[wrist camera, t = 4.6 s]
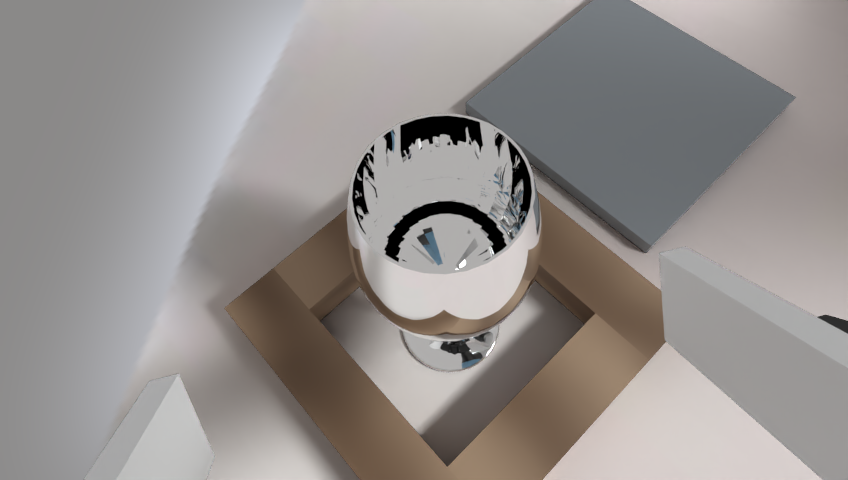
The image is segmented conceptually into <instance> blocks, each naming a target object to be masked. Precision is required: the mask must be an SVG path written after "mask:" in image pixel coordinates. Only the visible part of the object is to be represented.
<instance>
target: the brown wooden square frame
mask: <svg viewBox="0 0 848 480" xmlns="http://www.w3.org/2000/svg"><path fill="white" fill-rule="evenodd" d="M537 193H538V197H539V202H540V209H541V218H542V227H543V240H542V249H541V255H540V261H539V267H538V270H537V273H536V277H535V280H536V281H537V282H538V283H539V284H540V285H541V286H542V287H544V288H545V289H546V290H547V291H548V292H549V293H550V294H552V295H553V296H554V297H555V298H556V299H557V300H558V301H559V302H561V303H562V304H563V305H564V306H565V307H566V308H567V309H568V310H570V311H571V312H572V313H573V314H574V315H575V316H576V317H578V318H579V319H580V320H581V321H582V322H583V323H584V324H585V325H584V326H583V327H582V328H581V329H580V330H579V331H578V332H577V333H576V334H575V335H574V336H573V337H572V338H571V339H570V340H569V341H568V342H567V343H566V344H565V345H564V346H563V347H562V348H561V349H560V351H559V352H558V353H557V354H556V355H555V356H554V357H553V358H552V359H551V360H550V361H549V362H548V363H547V364H546V365H545V366H544V367H543V368H542V369H541V370H540V371H539V372H538V373H537V374H536V375H535V376H534V378H533V379H532V380H531V381H530V382H529V383H528V384H527V385H526V386H525V387H524V388H523V389H522V390H521V391H520V392H519V393H518V394H517V395H516V396H515V397H514V398H513V399H512V400H511V401H510V402H509V404H508V405H507V406H506V407H505V408H504V409H503V410H502V411H501V412H500V413H499V414H498V415H497V416H496V417H495V418H494V419H493V420H492V421H491V422H490V423H489V424H488V425H487V426H486V427H485V428H484V429H483V431H482V432H481V433H480V434H479V435H478V436H477V437H476V438H475V439H474V440H473V441H472V442H471V443H470V444H469V445H468V446H467V447H466V448H465V449H464V450H463V451H462V452H461V453H460V454H459V455H458V456H457V458H456V459H455V460H454V461H453V462H452V463H451V464H450V465H449V466H448V467H447V466H446V465H445V464H444V463H443V461H442V460H441V459H440V458H439V457H438V456H437V455H436V453H435V452H434V451H433V450H432V449H431V448H430V447H429V445H428V444H427V443H426V442H425V441H424V440H423V439H422V437H421V436H420V435H419V434H418V433H417V432H416V431H415V429H414V428H413V427H412V426H411V425H410V424H409V423H408V421H407V420H406V419H405V418H404V417H403V416H402V415H401V413H400V412H399V411H398V410H397V409H396V408H395V407H394V405H393V404H392V403H391V402H390V401H389V400H388V399H387V397H386V396H385V395H384V394H383V393H382V392H381V391H380V389H379V388H378V387H377V386H376V385H375V384H374V383H373V381H372V380H371V379H370V378H369V377H368V376H367V375H366V373H365V372H364V371H363V370H362V369H361V368H360V367H359V365H358V364H357V363H356V362H355V361H354V360H353V359H352V357H351V356H350V355H349V354H348V353H347V352H346V351H345V349H344V348H343V347H342V346H341V345H340V344H339V343H338V341H337V340H336V339H335V338H334V337H333V336H332V335H331V333H330V332H329V331H328V330H327V329H326V328H325V327H324V325H323V324H322V323H321V322H320V320H322V319H323V318H324V317H325V316H326V315H327V314H328V313H330V312H331V311H332V310H333V309H334V308H335V307H336V306H338V305H339V304H340V303H341V302H342V301H343V300H345V299H346V298H347V297H348V296H349V295H350V294H351V293H353V292H354V291H355V290H356V289H357V288H358V287H360V285H359V283H358V281H357V279H356V276H355V273H354V270H353V267H352V264H351V260H350V255H349V248H348V240H347V209H346V210H344V211H343V212H342V213H341V214H340V215H338V216H337V217H336V218H335V219H333V220H332V221H331V222H330V223H328V224H327V225H326V226H325V227H324V228H322V229H321V230H320V231H319V232H317V233H316V234H315V235H314V236H312V237H311V238H310V239H309V240H308V241H306V242H305V243H304V244H303V245H301V246H300V247H299V248H298V249H296V250H295V251H294V252H293V253H292V254H290V255H289V256H288V257H287V258H285V259H284V260H283V261H282V262H280V263H279V264H278V265H277V266H276V267H274V268H273V269H272V270H271V271H269V272H268V273H267V274H266V275H264V276H263V277H262V278H261V279H260V280H258V281H257V282H256V283H255V284H253V285H252V286H251V287H250V288H248V289H247V290H246V291H245V292H244V293H242V294H241V295H240V296H239V297H237V298H236V299H235V300H234V301H232V302H231V303H230V304H229V305H228V306H226V307H225V308H224V309H225V310H226V311H227V312H228V314H229V315H230V316H231V317H232V319H233V320H234V321H235V322H236V324H237V325H238V326H239V328H240V329H241V330H242V331H243V333H244V334H245V335H246V336H247V338H248V339H249V340H250V341H251V343H252V344H253V345H254V346H255V348H256V349H257V350H258V352H259V353H260V354H261V355H262V357H263V358H264V359H265V360H266V362H267V363H268V364H269V365H270V367H271V368H272V369H273V370H274V372H275V373H276V374H277V375H278V377H279V378H280V379H281V381H282V382H283V383H284V384H285V386H286V387H287V388H288V389H289V391H290V392H291V393H292V394H293V396H294V397H295V398H296V399H297V401H298V402H299V403H300V405H301V406H302V407H303V408H304V410H305V411H306V412H307V413H308V415H309V416H310V417H311V418H312V420H313V421H314V422H315V423H316V425H317V426H318V427H319V428H320V430H321V431H322V432H323V434H324V435H325V436H326V437H327V439H328V440H329V441H330V442H331V444H332V445H333V446H334V447H335V449H336V450H337V451H338V452H339V454H340V455H341V456H342V458H343V459H344V460H345V461H346V463H347V464H348V465H349V466H350V468H351V469H352V470H353V471H354V473H355V474H356V475H357V476H358V478H359V479H360V480H543V478H544V477H545V476H546V475H547V474H548V473H549V472H550V471H551V469H552V468H553V467H554V466H555V465H556V464H557V463H558V462H559V461H560V459H561V458H562V457H563V456H564V455H565V454H566V453H567V452H568V450H569V449H570V448H571V447H572V446H573V445H574V444H575V443H576V442H577V440H578V439H579V438H580V437H581V436H582V435H583V434H584V433H585V431H586V430H587V429H588V428H589V427H590V426H591V425H592V424H593V423H594V421H595V420H596V419H597V418H598V417H599V416H600V415H601V414H602V412H603V411H604V410H605V409H606V408H607V407H608V406H609V405H610V404H611V402H612V401H613V400H614V399H615V398H616V397H617V396H618V395H619V393H620V392H621V391H622V390H623V389H624V388H625V387H626V386H627V385H628V383H629V382H630V381H631V380H632V379H633V378H634V377H635V376H636V374H637V373H638V372H639V371H640V370H641V369H642V368H643V367H644V366H645V364H646V363H647V362H648V361H649V360H650V359H651V358H652V357H653V355H654V354H655V353H656V352H657V351H658V350H659V349H660V348H661V347H662V345H663V344H664V343H665V342H666V341H665V337H664V322H663V307H662V292H661V290H659V289H658V288H657V287H656V286H654V285H653V284H652V283H651V282H649V281H648V280H647V279H646V278H644V277H643V276H642V275H641V274H639V273H638V272H637V271H636V270H634V269H633V268H632V267H631V266H629V265H628V264H627V263H626V262H624V261H623V260H622V259H621V258H619V257H618V256H617V255H616V254H614V253H613V252H612V251H611V250H610V249H608V248H607V247H606V246H605V245H603V244H602V243H601V242H600V241H598V240H597V239H596V238H595V237H593V236H592V235H591V234H590V233H588V232H587V231H586V230H585V229H583V228H582V227H581V226H580V225H578V224H577V223H576V222H575V221H573V220H572V219H571V218H570V217H568V216H567V215H566V214H565V213H564V212H562V211H561V210H560V209H559V208H557V207H556V206H555V205H554V204H552V203H551V202H550V201H549V200H547V199H546V198H545V197H544V196H542V195H541V194H540V193H539V192H537Z"/></svg>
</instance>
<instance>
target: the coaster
mask: <svg viewBox="0 0 848 480" xmlns="http://www.w3.org/2000/svg"><path fill="white" fill-rule="evenodd" d="M795 98H796V97H795V96H793V95H791V94H789V93H788V92H786V91H784V90H783V89H781V88H779V87H778V86H776V85H774V84H772V83H771V82H769V81H767V80H766V79H764V78H762V77H760V76H759V75H757V74H755V73H754V72H752V71H750V70H748V69H747V68H745V67H743V66H742V65H740V64H738V63H736V62H735V61H733V60H731V59H730V58H728V57H726V56H725V55H723V54H721V53H719V52H718V51H716V50H714V49H713V48H711V47H709V46H707V45H706V44H704V43H702V42H701V41H699V40H697V39H695V38H694V37H692V36H690V35H689V34H687V33H685V32H683V31H682V30H680V29H678V28H677V27H675V26H673V25H672V24H670V23H668V22H666V21H665V20H663V19H661V18H660V17H658V16H656V15H654V14H653V13H651V12H649V11H648V10H646V9H644V8H642V7H641V6H639V5H637V4H636V3H634V2H632V1H630V0H593V1H591V2H590V3H589V4H588V5H586V6H585V7H584V8H583V9H581V10H580V11H579V12H578V13H576V14H575V15H574V16H573V17H572V18H570V19H569V20H568V21H567V22H565V23H564V24H563V25H562V26H560V27H559V28H558V29H557V30H555V31H554V32H553V33H552V34H550V35H549V36H548V37H547V38H545V39H544V40H543V41H542V42H541V43H539V44H538V45H537V46H536V47H534V48H533V49H532V50H531V51H529V52H528V53H527V54H526V55H524V56H523V57H522V58H521V59H519V60H518V61H517V62H516V63H514V64H513V65H512V66H511V67H510V68H508V69H507V70H506V71H505V72H503V73H502V74H501V75H500V76H498V77H497V78H496V79H495V80H493V81H492V82H491V83H490V84H488V85H487V86H486V87H485V88H484V89H482V90H481V91H480V92H479V93H477V94H476V95H475V96H474V97H472V98H471V99H470V100H469V101H467V102H466V113H468V114H469V115H470V116H471V117H474V118H477V119H479V120H482V121H485V122H487V123H490V124H491V125H493V126H495V127H496V128H498V129H500V130H502V131H503V132H504V133H505V134H506V135H508V136H509V137H510V138H511V139H512V140H513V141H514V142H515V143H516V144H517V145H518V146H519V147H520V149H521V150H522V152H523V153H524V155H525V156H526V158H527V160H528V161H529V162H530V163H531V164H533V165H534V166H535V167H536V168H538V169H539V170H540V171H542V172H543V173H544V174H545V175H547V176H548V177H549V178H551V179H552V180H553V181H554V182H556V183H557V184H558V185H559V186H561V187H562V188H563V189H565V190H566V191H567V192H568V193H570V194H571V195H572V196H573V197H575V198H576V199H577V200H579V201H580V202H581V203H582V204H584V205H585V206H586V207H588V208H589V209H590V210H591V211H593V212H594V213H595V214H596V215H598V216H599V217H600V218H602V219H603V220H604V221H605V222H607V223H608V224H609V225H611V226H612V227H613V228H614V229H616V230H617V231H618V232H619V233H621V234H622V235H623V236H625V237H626V238H627V239H628V240H630V241H631V242H632V243H633V244H635V245H636V246H637V247H639V248H640V249H641V250H642V251H644V252H645V253H647V252H648V251H649V250H650V249H651V248H652V246H653V245H654V244H655V243H656V242H657V241H658V240H659V239H660V238H661V237H662V236H663V235H664V234H665V233H666V232H667V231H668V230H669V229H670V228H671V227H672V226H673V225H674V224H675V223H676V222H677V221H678V220H679V219H680V218H681V217H682V215H683V214H684V213H685V212H686V211H687V210H688V209H689V208H690V207H691V206H692V205H693V204H694V203H695V202H696V201H697V200H698V199H699V198H700V197H701V196H702V195H703V194H704V193H705V192H706V191H707V190H708V189H709V188H710V187H711V186H712V185H713V183H714V182H715V181H716V180H717V179H718V178H719V177H720V176H721V175H722V174H723V173H724V172H725V171H726V170H727V169H728V168H729V167H730V166H731V165H732V164H733V163H734V162H735V161H736V160H737V159H738V158H739V157H740V156H741V155H742V154H743V152H744V151H745V150H746V149H747V148H748V147H749V146H750V145H751V144H752V143H753V142H754V141H755V140H756V139H757V138H758V137H759V136H760V135H761V134H762V133H763V132H764V131H765V130H766V129H767V128H768V127H769V126H770V125H771V124H772V123H773V122H774V120H775V119H776V118H777V117H778V116H779V115H780V114H781V113H782V112H783V111H784V110H785V109H786V108H787V107H788V106H789V105H790V104H791V102H792V101H793V100H794V99H795Z"/></svg>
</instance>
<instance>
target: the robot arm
mask: <svg viewBox="0 0 848 480" xmlns="http://www.w3.org/2000/svg"><path fill="white" fill-rule="evenodd" d="M659 262H660V277H661V292H662V307H663V322H664V337H665V341H666V342H667V343H668V344H669V345H671V346H672V347H673V348H674V349H675V350H676V351H677V352H679V353H680V354H681V355H682V356H683V357H684V358H685V359H686V360H688V361H689V362H690V363H691V364H692V365H693V366H694V367H696V368H697V369H698V370H699V371H700V372H701V373H702V374H704V375H705V376H706V377H707V378H708V379H709V380H710V381H711V382H713V383H714V384H715V385H716V386H717V387H718V388H719V389H721V390H722V391H723V392H724V393H725V394H726V395H727V396H728V397H730V398H731V399H732V400H733V401H734V402H735V403H736V404H738V405H739V406H740V407H741V408H742V409H743V410H744V411H745V412H747V413H748V414H749V415H750V416H751V417H752V418H753V419H755V420H756V421H757V422H758V423H759V424H760V425H761V426H762V427H764V428H765V429H766V430H767V431H768V432H769V433H770V434H772V435H773V436H774V437H775V438H776V439H777V440H778V441H779V442H781V443H782V444H783V445H784V446H785V447H786V448H787V449H789V450H790V451H791V452H792V453H793V454H794V455H795V456H797V457H798V458H799V459H800V460H801V461H802V462H803V463H804V464H806V465H807V466H808V467H809V468H810V469H811V470H812V471H814V472H815V473H816V474H817V475H818V476H819V477H820V478H821V479H823V480H848V321H846V320H843V319H839V318H836V317H832V316H829V315H823V316H819V317H816V316H814V315H812V314H810V313H808V312H806V311H805V310H803V309H801V308H799V307H797V306H795V305H793V304H792V303H790V302H788V301H786V300H784V299H782V298H780V297H779V296H777V295H775V294H773V293H771V292H769V291H767V290H766V289H764V288H762V287H760V286H758V285H756V284H754V283H753V282H751V281H749V280H747V279H745V278H743V277H741V276H740V275H738V274H736V273H734V272H732V271H730V270H728V269H727V268H725V267H723V266H721V265H719V264H717V263H716V262H714V261H712V260H710V259H708V258H706V257H704V256H703V255H701V254H699V253H697V252H695V251H693V250H691V249H690V248H688V247H686V246H685V247H681V248H677V249H673V250H669V251H665V252H661V253H659ZM214 458H215V455H214V453H213V451H212V449H211V446H210V444H209V442H208V439H207V437H206V435H205V432H204V430H203V428H202V426H201V423H200V421H199V419H198V416H197V414H196V412H195V410H194V407H193V405H192V403H191V400H190V398H189V396H188V393H187V391H186V389H185V387H184V384H183V382H182V380H181V377H180V375H179V374H175V375H171V376H167V377H163V378H159V379H155V380H151V381H149V382H148V384H147V385H146V387H145V388H144V390H143V391H142V393H141V394H140V396H139V397H138V399H137V400H136V402H135V403H134V405H133V406H132V408H131V409H130V411H129V412H128V414H127V415H126V417H125V418H124V420H123V421H122V423H121V424H120V426H119V427H118V429H117V430H116V432H115V433H114V435H113V436H112V437H111V439H110V440H109V442H108V443H107V445H106V446H105V448H104V449H103V451H102V452H101V454H100V455H99V457H98V458H97V460H96V461H95V463H94V464H93V466H92V467H91V469H90V470H89V472H88V473H87V475H86V476H85V478H84V479H83V480H207V477H208V475H209V472H210V469H211V466H212V464H213V461H214Z"/></svg>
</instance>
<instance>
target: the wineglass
mask: <svg viewBox="0 0 848 480" xmlns="http://www.w3.org/2000/svg"><path fill="white" fill-rule="evenodd" d="M347 240H348V248H349V255H350V260H351V264H352V267H353V270H354V273H355V276H356V279H357V281H358V283H359V285H360V288H361V290H362V292H363V293H364V295H365V296H366V298H367V299H368V301H369V302H370V304H371V305H372V306H373V307H374V308H375V310H376V311H377V312H378V313H379V314H380V315H382V316H383V317H384V318H385V319H386V320H387V321H389V322H390V323H391V324H393V325H394V326H396V327H397V328H399V329H400V330H402V332H403V336H404V340H405V342H406V344H407V346H408V348H409V350H410V352H411V353H412V354H413V355H414V356H415V358H416V359H417V360H419V361H420V362H421V363H423V364H424V365H426V366H427V367H429V368H432V369H434V370H437V371H442V372H460V371H464V370H467V369H470V368H472V367H474V366H476V365H478V364H479V363H481V362H482V361H483V360H484V359H485V358H486V357H487V356H488V355H489V354H490V352H491V351H492V350H493V348H494V346H495V344H496V342H497V338H498V335H499V328H500V323H502V322H503V321H504V320H505V319H507V318H508V317H509V316H510V315H511V314H512V313H513V312H514V311H515V310H516V309H517V308H518V307H519V306H520V304H521V303H522V301H523V300H524V298H525V297H526V295H527V294H528V292H529V290H530V288H531V286H532V284H533V282H534V280H535V277H536V273H537V270H538V267H539V261H540V255H541V249H542V240H543V227H542V218H541V209H540V202H539V197H538V193H537V189H536V185H535V180H534V176H533V173H532V169H531V167H530V164H529V162H528V160H527V158H526V156H525V155H524V153H523V152H522V150H521V149H520V147H519V146H518V145H517V144H516V143H515V142H514V141H513V140H512V139H511V138H510V137H509V136H508V135H506V134H505V133H504V132H503V131H502V130H500V129H498V128H496V127H495V126H493V125H491V124H490V123H487V122H485V121H482V120H479V119H477V118H474V117H470V116H465V115H459V114H442V113H437V114H430V115H424V116H418V117H415V118H412V119H409V120H407V121H404V122H401V123H399V124H397V125H395V126H394V127H392V128H390V129H389V130H387V131H385V132H384V133H382V134H381V135H380V136H379V137H378V138H377V139H375V140H374V141H373V142H372V143H371V144H370V145H369V146H368V147H367V149H366V150H365V152H364V153H363V154H362V156H361V157H360V159H359V160H358V162H357V164H356V167H355V170H354V172H353V175H352V178H351V181H350V189H349V196H348V203H347Z"/></svg>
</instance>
